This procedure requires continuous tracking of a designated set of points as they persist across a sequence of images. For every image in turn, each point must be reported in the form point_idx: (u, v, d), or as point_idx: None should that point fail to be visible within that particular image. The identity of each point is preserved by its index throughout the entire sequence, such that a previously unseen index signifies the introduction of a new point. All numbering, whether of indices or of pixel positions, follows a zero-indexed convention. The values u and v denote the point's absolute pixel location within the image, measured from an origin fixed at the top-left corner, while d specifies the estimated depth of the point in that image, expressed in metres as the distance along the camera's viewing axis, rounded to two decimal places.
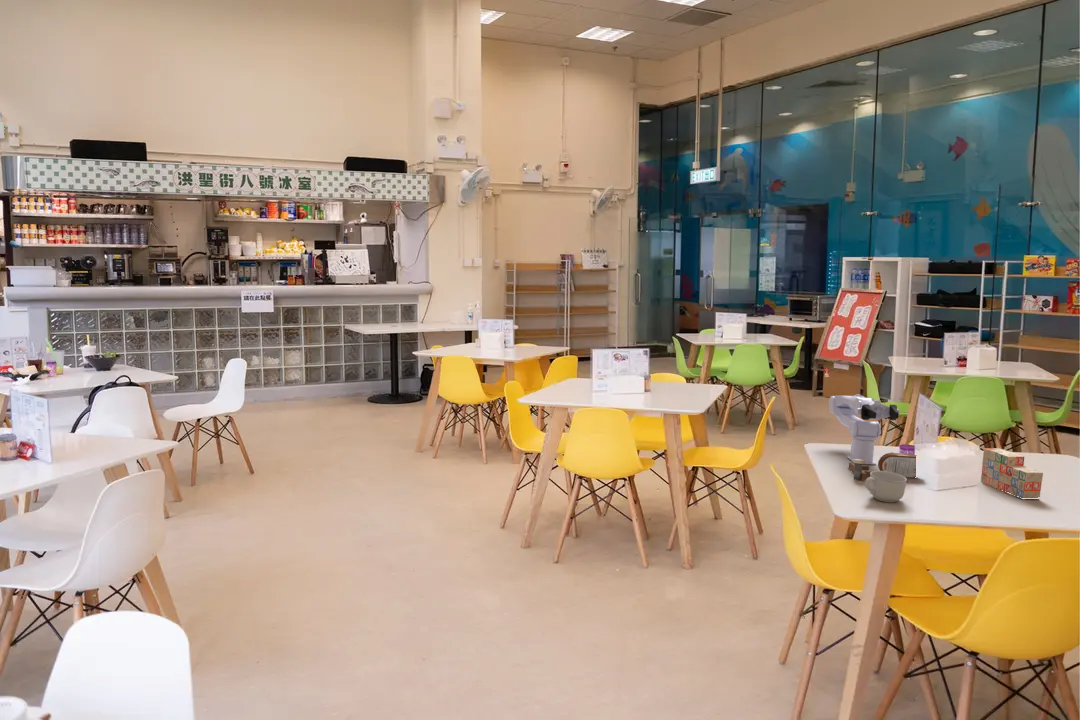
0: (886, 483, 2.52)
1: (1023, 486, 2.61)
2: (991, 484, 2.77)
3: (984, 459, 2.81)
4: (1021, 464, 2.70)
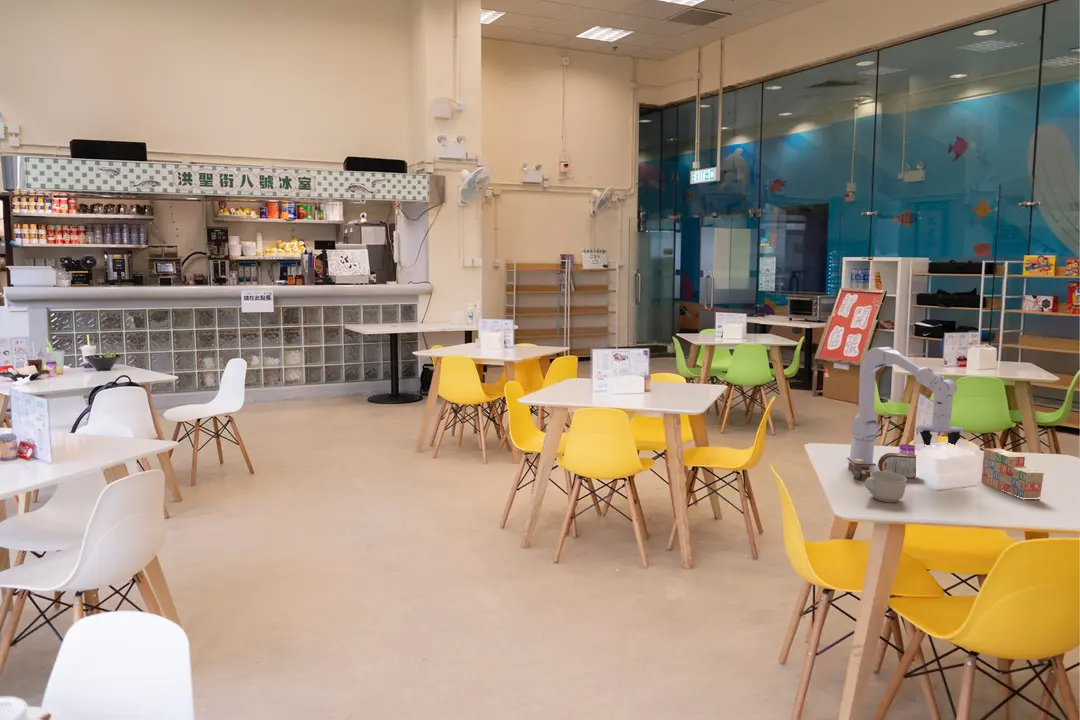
0: (886, 483, 2.51)
1: (1024, 486, 2.61)
2: (991, 484, 2.77)
3: (984, 459, 2.81)
4: (1021, 464, 2.70)
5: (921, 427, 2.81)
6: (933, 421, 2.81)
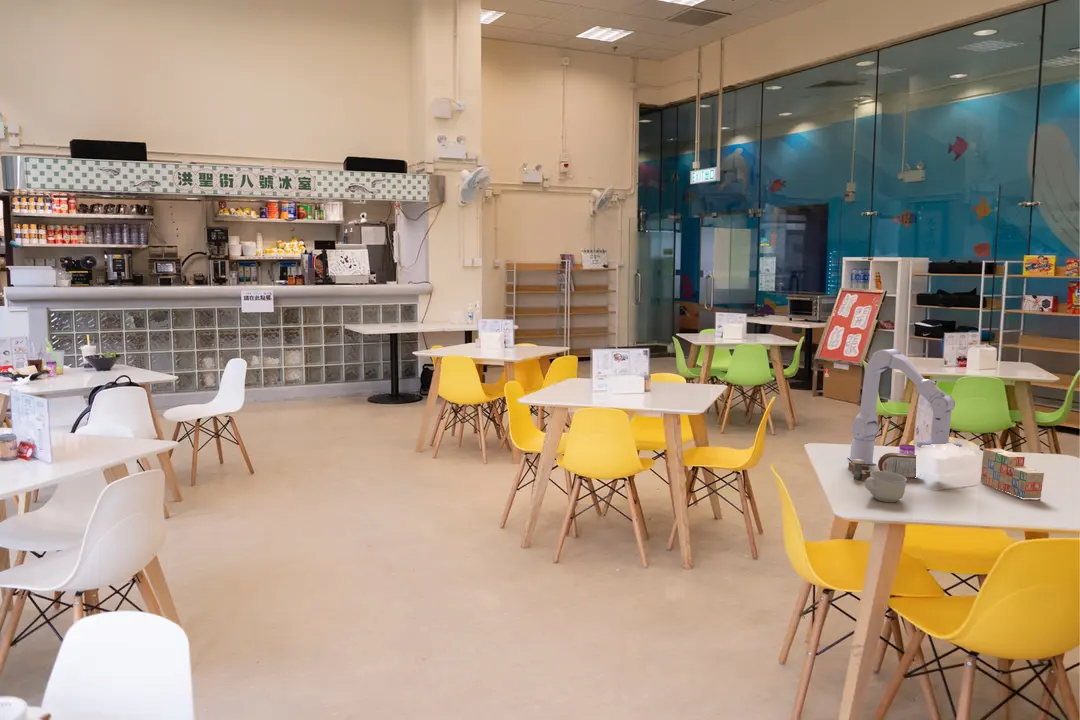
0: (886, 483, 2.52)
1: (1024, 487, 2.61)
2: (991, 484, 2.76)
3: (984, 459, 2.80)
4: (1021, 464, 2.70)
5: (920, 443, 2.82)
6: (932, 437, 2.82)
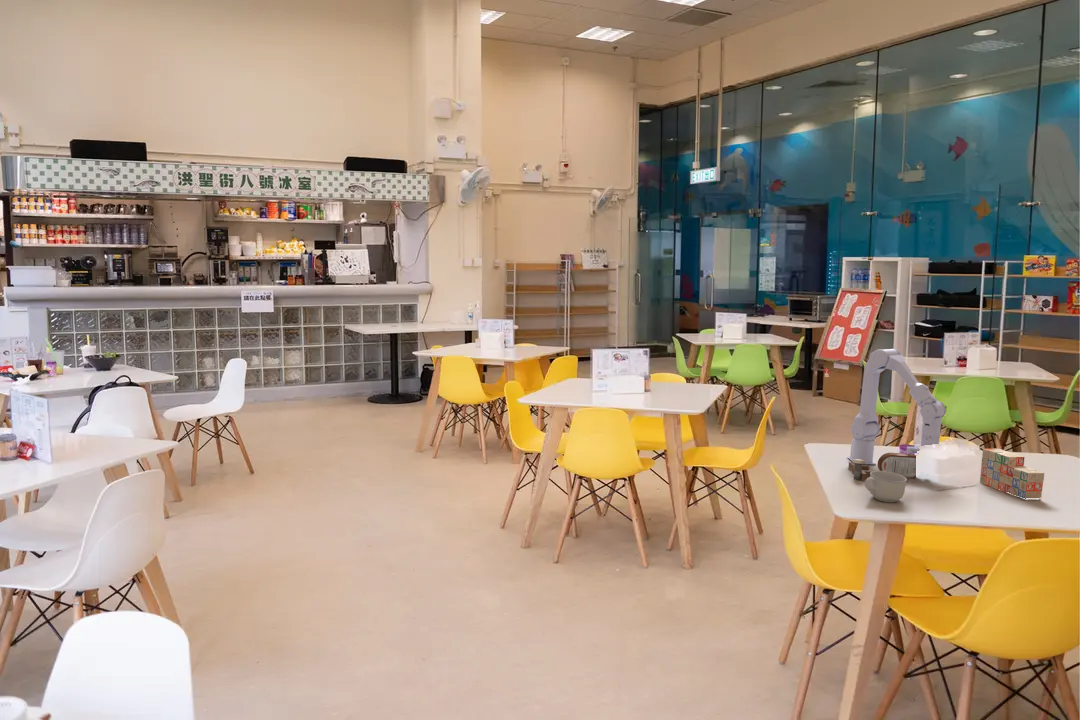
0: (886, 483, 2.51)
1: (1025, 487, 2.61)
2: (991, 485, 2.76)
3: (983, 459, 2.80)
4: (1021, 464, 2.70)
5: (910, 449, 2.83)
6: (922, 443, 2.83)
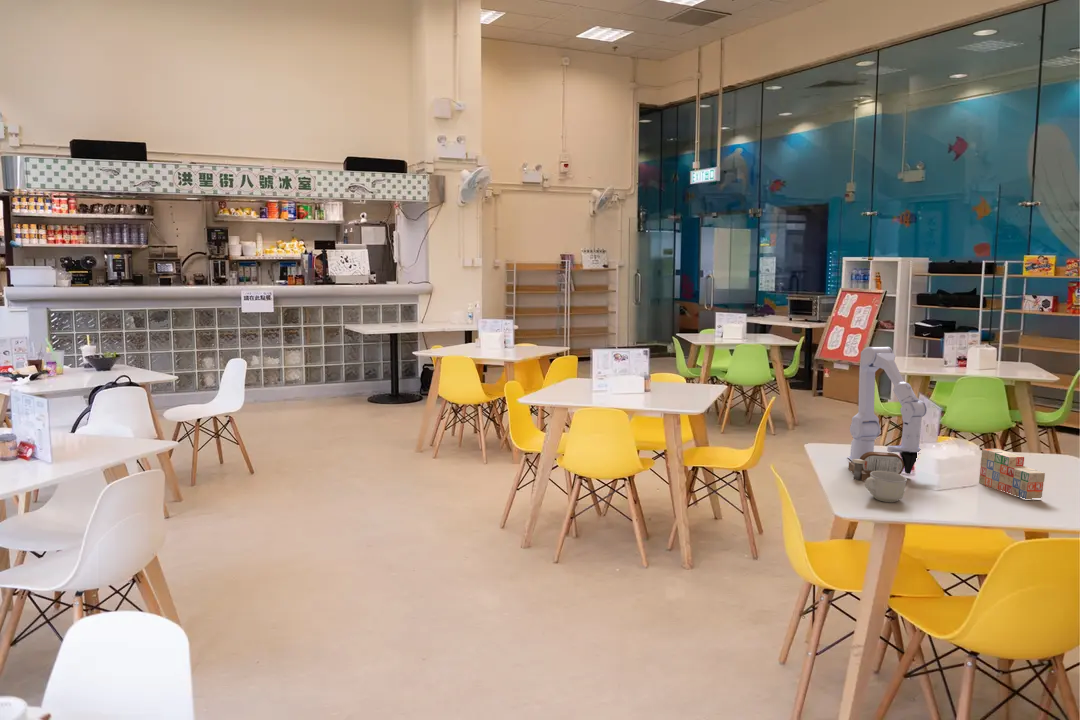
0: (886, 483, 2.51)
1: (1026, 487, 2.60)
2: (990, 485, 2.76)
3: (982, 460, 2.80)
4: (1021, 464, 2.70)
5: (890, 448, 2.83)
6: (902, 442, 2.83)
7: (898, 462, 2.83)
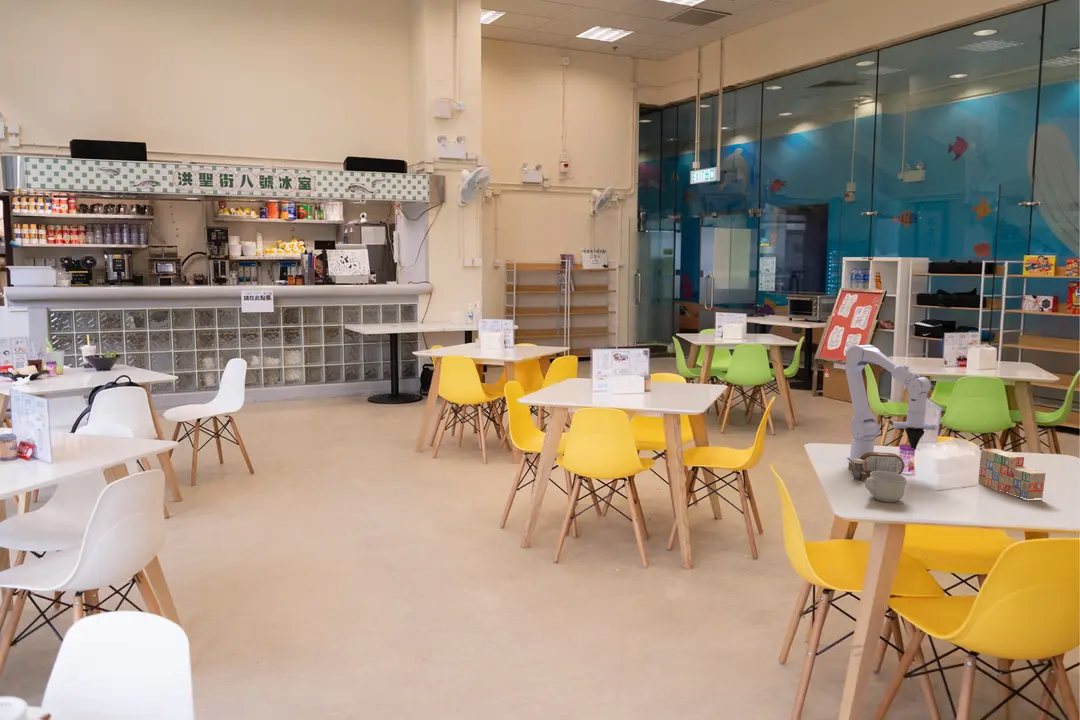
0: (886, 483, 2.51)
1: (1027, 487, 2.60)
2: (990, 485, 2.75)
3: (982, 460, 2.79)
4: (1021, 464, 2.69)
5: (896, 424, 2.87)
6: (908, 418, 2.87)
7: (898, 462, 2.83)
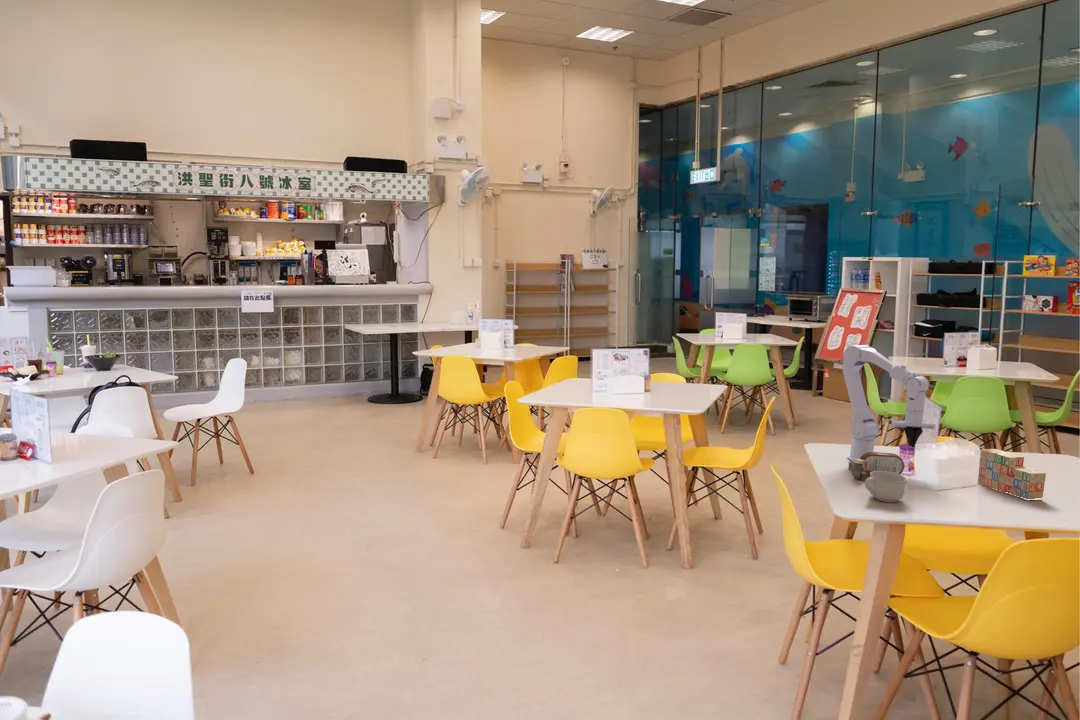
0: (886, 483, 2.51)
1: (1028, 487, 2.60)
2: (990, 485, 2.75)
3: (981, 460, 2.79)
4: (1021, 465, 2.69)
5: (894, 423, 2.88)
6: (906, 417, 2.88)
7: (898, 462, 2.83)
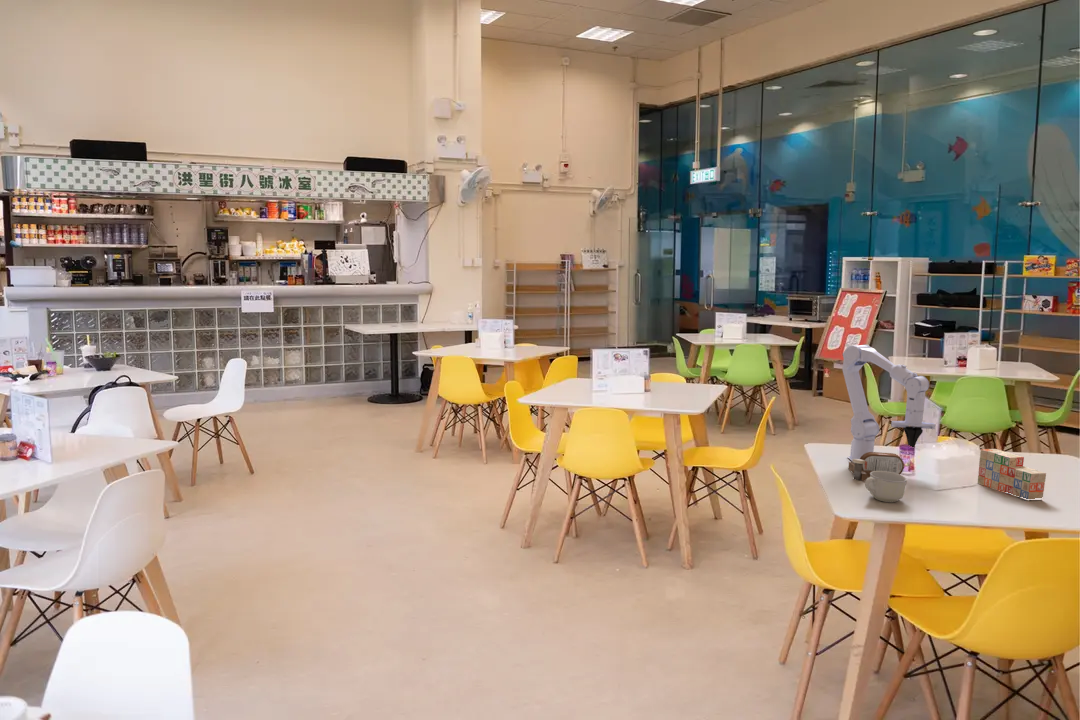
0: (886, 483, 2.51)
1: (1028, 487, 2.60)
2: (990, 485, 2.75)
3: (981, 460, 2.79)
4: (1021, 465, 2.69)
5: (894, 423, 2.88)
6: (906, 417, 2.88)
7: (898, 462, 2.83)
